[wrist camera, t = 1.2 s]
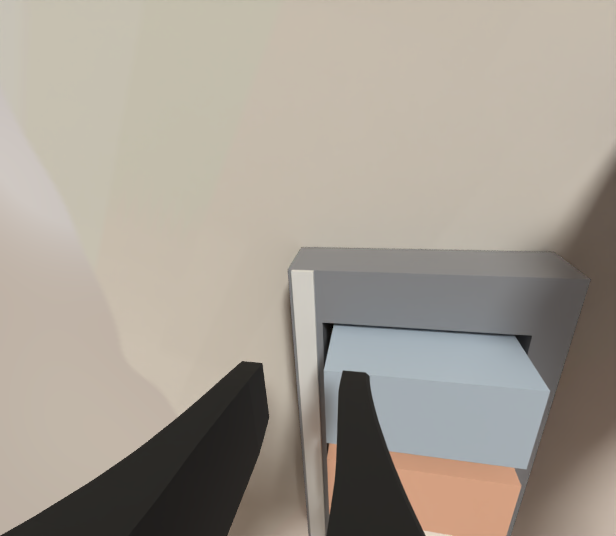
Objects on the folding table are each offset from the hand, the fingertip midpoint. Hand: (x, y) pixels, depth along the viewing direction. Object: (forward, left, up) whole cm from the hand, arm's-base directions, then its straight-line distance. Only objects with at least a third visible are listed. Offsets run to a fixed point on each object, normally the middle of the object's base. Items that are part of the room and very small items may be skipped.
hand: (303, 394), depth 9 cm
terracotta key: (-4, +9, -7) cm, 12 cm away
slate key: (-4, +4, -7) cm, 9 cm away
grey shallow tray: (-4, +9, -9) cm, 14 cm away
